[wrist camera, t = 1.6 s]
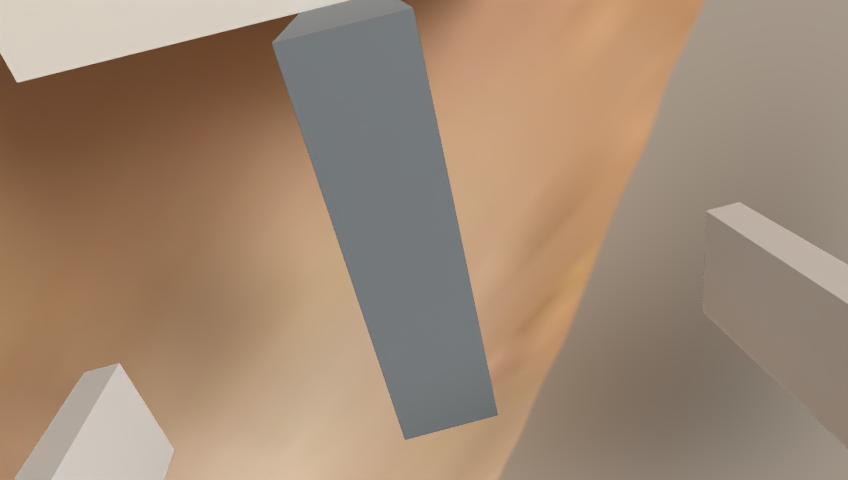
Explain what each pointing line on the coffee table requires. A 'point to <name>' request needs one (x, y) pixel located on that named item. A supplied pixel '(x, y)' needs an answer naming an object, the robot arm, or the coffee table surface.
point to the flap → (330, 164)
